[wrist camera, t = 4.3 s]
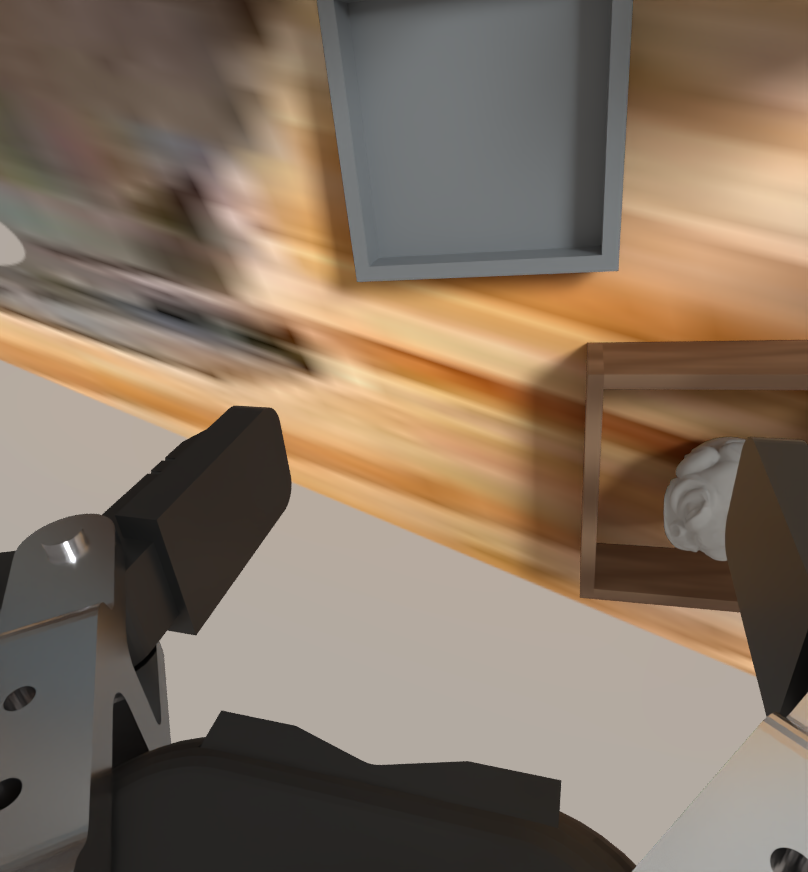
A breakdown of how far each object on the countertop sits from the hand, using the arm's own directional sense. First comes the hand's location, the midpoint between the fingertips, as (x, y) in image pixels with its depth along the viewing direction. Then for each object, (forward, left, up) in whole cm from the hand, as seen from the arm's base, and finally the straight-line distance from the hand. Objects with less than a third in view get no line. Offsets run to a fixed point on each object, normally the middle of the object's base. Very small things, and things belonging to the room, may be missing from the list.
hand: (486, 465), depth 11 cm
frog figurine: (+15, +9, -26) cm, 31 cm away
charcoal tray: (-4, -4, -26) cm, 26 cm away
